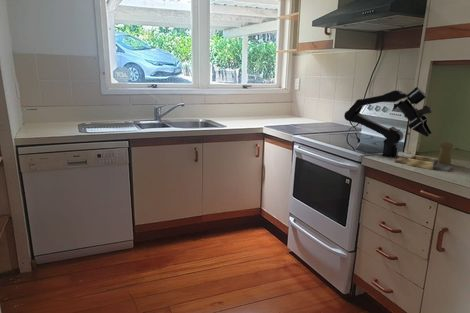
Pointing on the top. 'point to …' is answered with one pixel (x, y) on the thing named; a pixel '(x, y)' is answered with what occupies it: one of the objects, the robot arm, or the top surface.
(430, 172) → the top surface
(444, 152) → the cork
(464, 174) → the top surface
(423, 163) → the wooden tray
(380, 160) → the top surface
